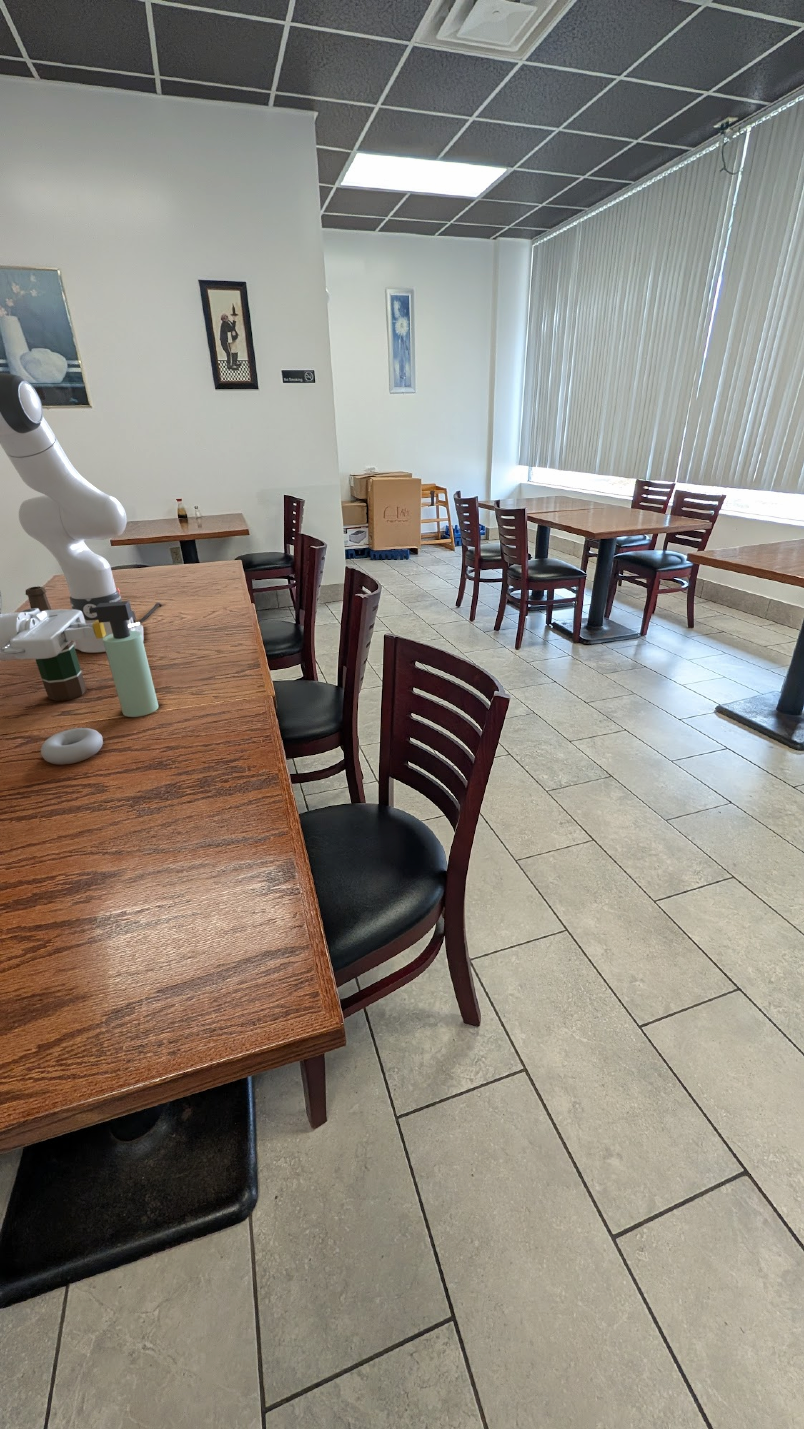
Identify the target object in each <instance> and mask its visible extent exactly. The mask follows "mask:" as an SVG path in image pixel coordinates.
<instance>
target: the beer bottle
mask: <svg viewBox="0 0 804 1429" xmlns="http://www.w3.org/2000/svg"><path fill="white" fill-rule="evenodd" d="M46 593H47V590H46V588H45V587H44V586H39V585H37V586H32V587H31V586H30V587H28V588H27V589H25V595H26V596H27V598H28V602H29V606H30V609H32V608H38V609H39V610H40V611H44V610H52V607H51V605H50V602H49V599H48V596H47V594H46ZM73 642H74V641H71V642H70V643H69V644H68V645H67V646H66V647H65V648H64V649H63V650H62V651H61V652H60V653H59V654H58V655H57V656H55V657H51V658H46V659H34V660H35V663H36V666H37V669H38V672H39V674H40V678H41V681H42V684H43V687H44V690H45V693H46V695H47V698H48V699H50V700H52V701H54V702H62V701H71V700H74V699H76V698H79V697H81V696H83V694H84V693H85V692H86V691H87V687H86V683H85V679H84V674H83V672H82V671H83V670H82V669H81V665H80V661H79V659H78V655H77V652H76V649H75V648H74V645H73Z"/></svg>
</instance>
